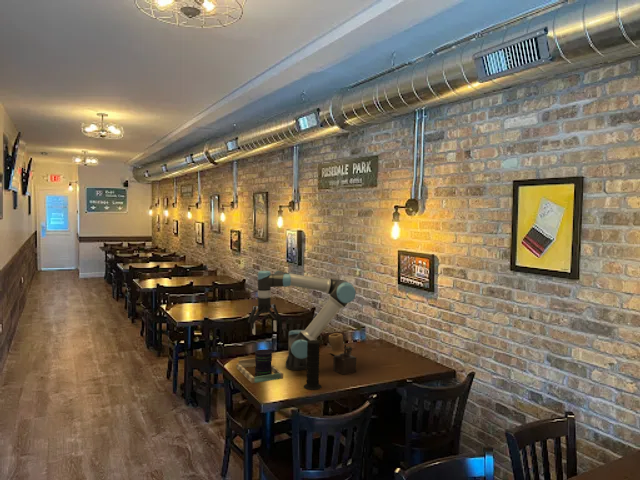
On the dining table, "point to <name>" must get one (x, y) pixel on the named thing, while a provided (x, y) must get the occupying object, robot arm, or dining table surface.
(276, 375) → the shallow rimmed tray
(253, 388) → the dining table surface
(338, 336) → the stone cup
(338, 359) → the dark boxy piece
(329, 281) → the robot arm
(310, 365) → the handle grip
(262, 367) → the storage jar
